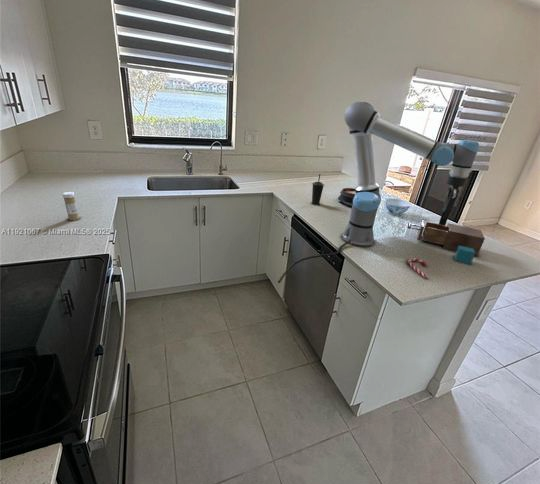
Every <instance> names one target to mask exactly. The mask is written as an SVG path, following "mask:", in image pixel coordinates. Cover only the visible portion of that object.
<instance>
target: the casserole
mask: <svg viewBox="0 0 540 484" xmlns="http://www.w3.org/2000/svg"><path fill="white" fill-rule="evenodd" d="M339 194H340V195H338V197H337V200H338V201H339V202H341V203H343V204H345V205H347V206H350V207H352V205H353V199H354V196H355V195H356V193H355V188H352V187H345V188H342V189H341V191H340V192H339Z"/></svg>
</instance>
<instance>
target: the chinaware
mask: <svg viewBox="0 0 540 484" xmlns="http://www.w3.org/2000/svg"><path fill="white" fill-rule="evenodd" d="M384 205H385V208H386V209H387V211H388V213H389V214H390V215H392V216H395V217H396V216H401V215H402V214H405V213H406V212H407V211H408V210H409V209H410V207H411V203H410V202H409V201H406V200H403V199H399V198H386V199H385V200H384Z"/></svg>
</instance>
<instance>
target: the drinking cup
mask: <svg viewBox="0 0 540 484" xmlns="http://www.w3.org/2000/svg"><path fill="white" fill-rule="evenodd" d="M320 179H321V173H318V179H317V181H314V182H312V193H311V194H312V195H311V204H312V205H314V206H319V205H320V202H321V198H322V195H323V190H324V187H325V183H323V182H322V181H320Z"/></svg>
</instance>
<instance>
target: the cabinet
mask: <svg viewBox="0 0 540 484" xmlns="http://www.w3.org/2000/svg"><path fill="white" fill-rule="evenodd" d="M446 226H448V229H449V234H448V236H447V239H446V242H445V244H444V245H442V248H443V249H444V250H449V251H452V252H456V251H457V249H458V246H463V247H468V248H472V249H474V251H475V254H474V257H478V255H479V254H480V251H481V249H482V246H483V244H484V242H485V240H486V238H485V235H484V234H483V231H482V229H478V228H473V227H468V226H463V225H459V224H454V223H450V222H448V223H446Z"/></svg>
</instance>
